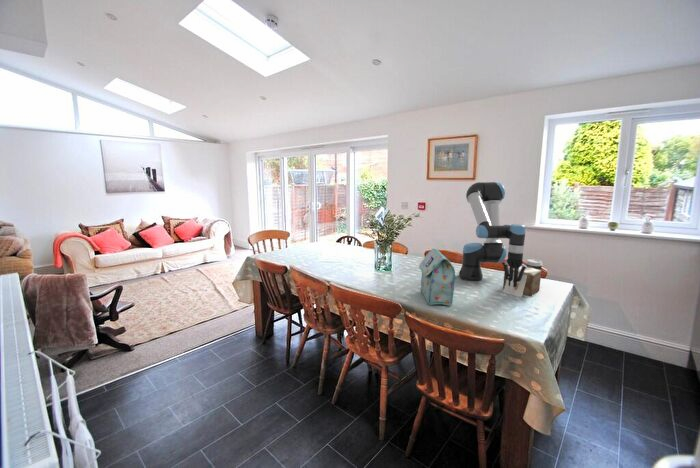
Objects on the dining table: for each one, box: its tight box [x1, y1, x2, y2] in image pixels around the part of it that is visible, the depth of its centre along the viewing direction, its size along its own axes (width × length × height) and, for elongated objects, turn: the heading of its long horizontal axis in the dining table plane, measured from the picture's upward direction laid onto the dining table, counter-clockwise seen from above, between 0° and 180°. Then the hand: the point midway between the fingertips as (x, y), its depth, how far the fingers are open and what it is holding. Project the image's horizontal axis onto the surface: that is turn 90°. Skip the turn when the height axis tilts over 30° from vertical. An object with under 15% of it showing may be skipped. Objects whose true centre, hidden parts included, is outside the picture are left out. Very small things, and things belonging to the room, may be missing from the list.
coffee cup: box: [525, 258, 544, 270], centre depth 201 cm, size 10×10×15 cm
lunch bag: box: [418, 248, 456, 307], centre depth 176 cm, size 23×16×27 cm
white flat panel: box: [503, 272, 527, 298], centre depth 184 cm, size 10×13×1 cm
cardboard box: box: [502, 265, 542, 297], centre depth 190 cm, size 16×12×13 cm
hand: (511, 291), depth 182 cm, fingers closed
